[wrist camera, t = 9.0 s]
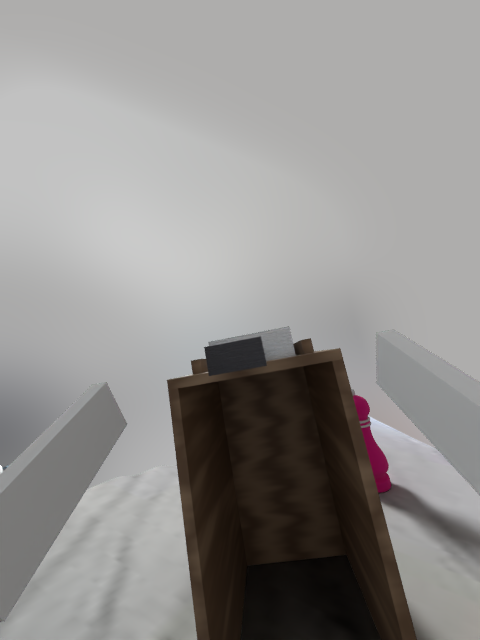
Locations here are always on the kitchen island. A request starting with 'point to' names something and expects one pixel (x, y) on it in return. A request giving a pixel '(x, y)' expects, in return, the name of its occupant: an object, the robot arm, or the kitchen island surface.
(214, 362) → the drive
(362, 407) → the pepper mill
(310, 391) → the stand
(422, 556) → the kitchen island surface
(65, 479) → the robot arm
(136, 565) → the kitchen island surface
